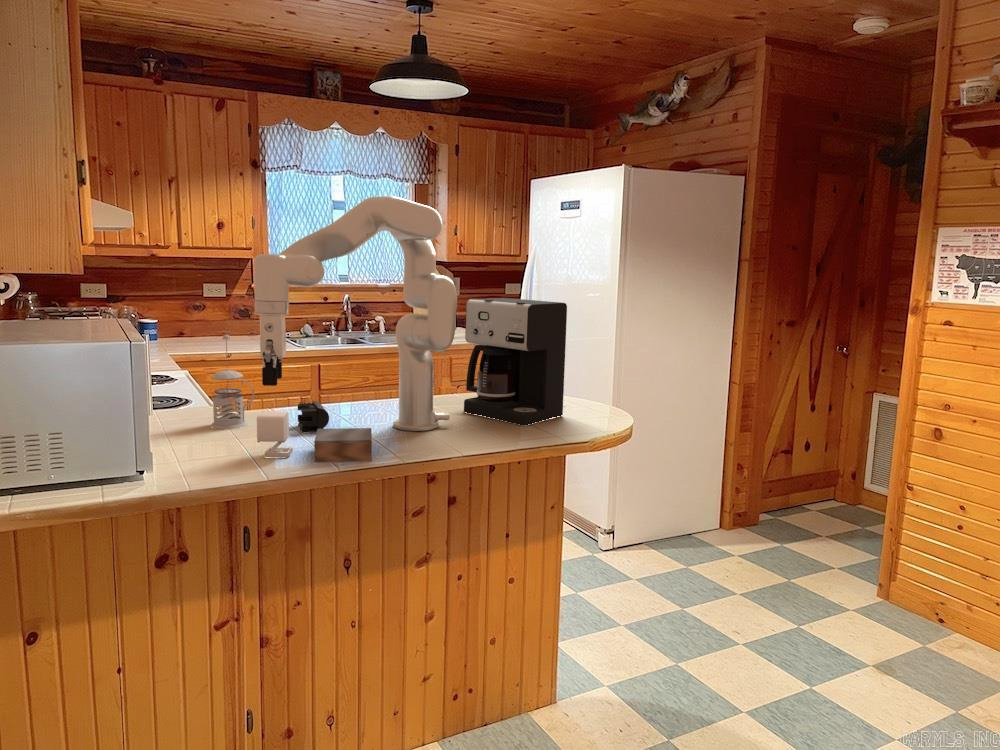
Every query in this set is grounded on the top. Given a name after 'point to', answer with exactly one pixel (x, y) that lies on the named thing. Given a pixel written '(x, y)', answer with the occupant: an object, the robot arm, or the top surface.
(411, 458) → the top surface
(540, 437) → the top surface
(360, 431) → the walnut stand
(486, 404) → the coffee maker
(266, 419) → the security camera
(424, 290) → the robot arm
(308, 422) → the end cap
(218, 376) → the french press
